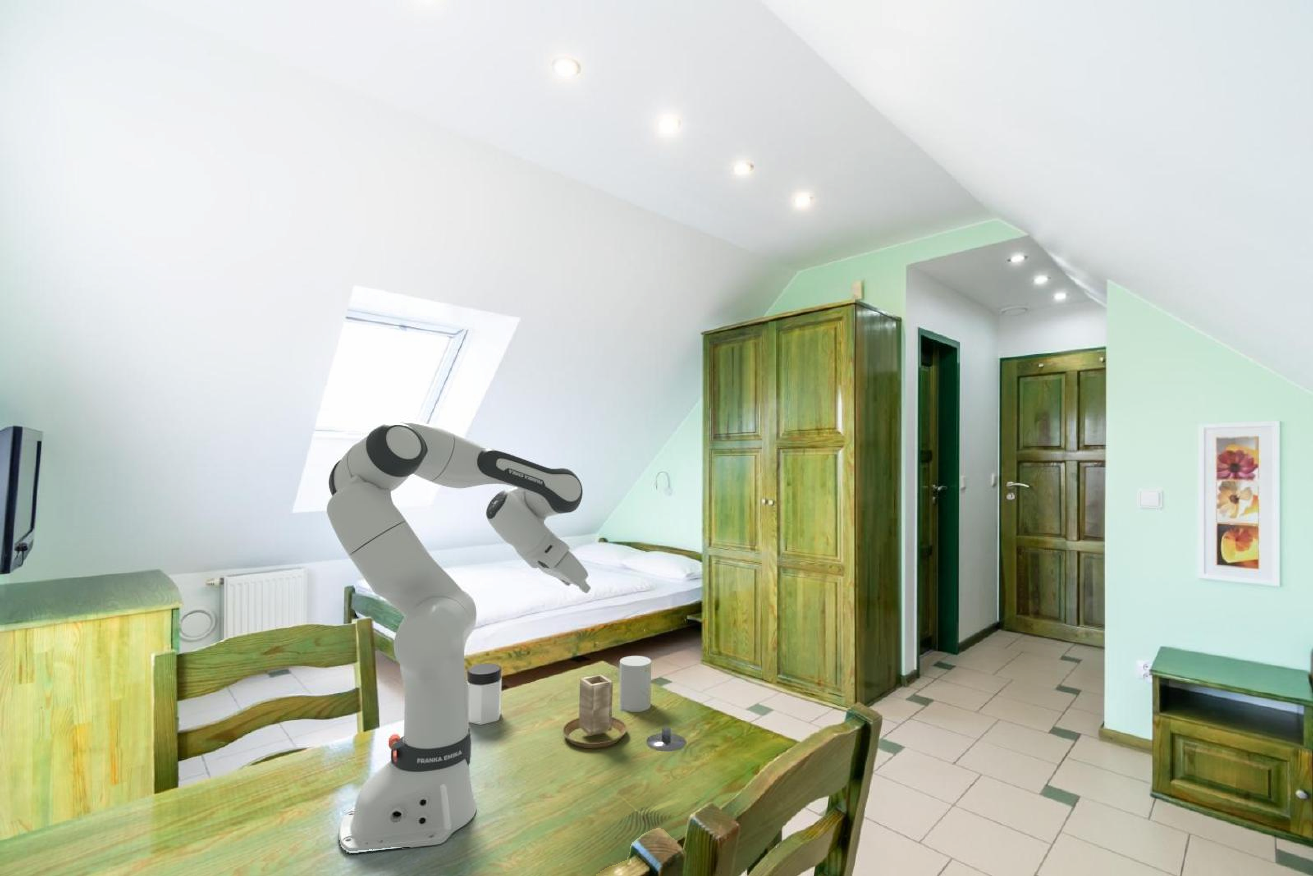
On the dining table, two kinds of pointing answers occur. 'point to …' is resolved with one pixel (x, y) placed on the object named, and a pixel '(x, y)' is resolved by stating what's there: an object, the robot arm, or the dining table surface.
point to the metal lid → (666, 741)
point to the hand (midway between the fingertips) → (578, 586)
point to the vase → (595, 704)
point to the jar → (484, 693)
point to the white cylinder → (635, 684)
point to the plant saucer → (575, 724)
